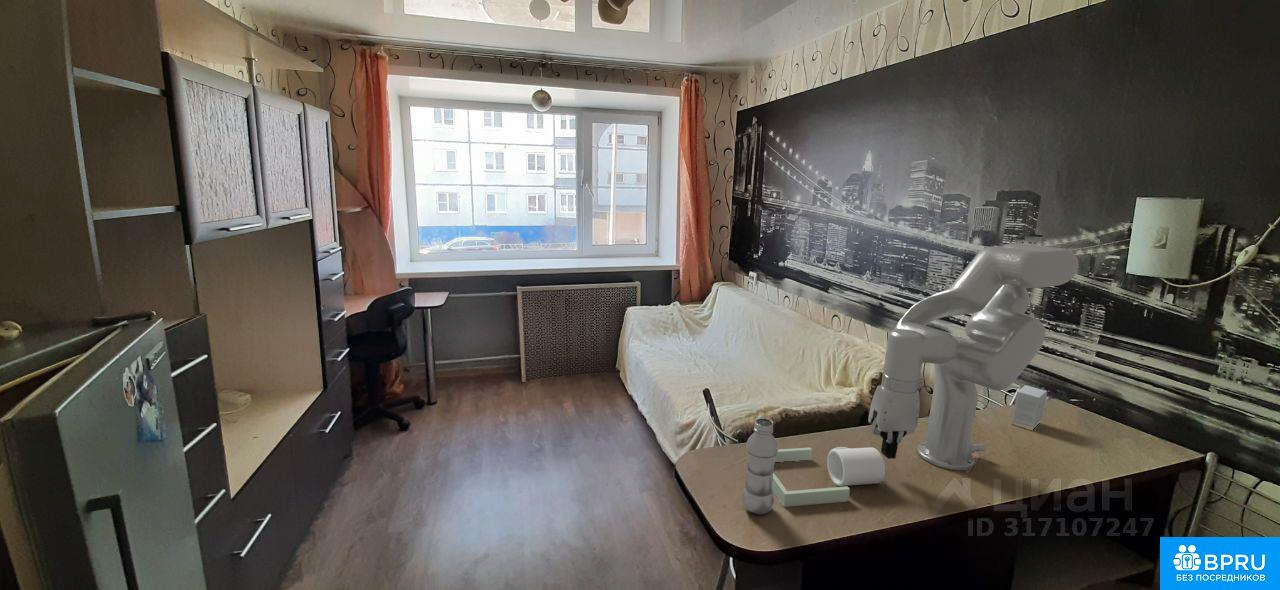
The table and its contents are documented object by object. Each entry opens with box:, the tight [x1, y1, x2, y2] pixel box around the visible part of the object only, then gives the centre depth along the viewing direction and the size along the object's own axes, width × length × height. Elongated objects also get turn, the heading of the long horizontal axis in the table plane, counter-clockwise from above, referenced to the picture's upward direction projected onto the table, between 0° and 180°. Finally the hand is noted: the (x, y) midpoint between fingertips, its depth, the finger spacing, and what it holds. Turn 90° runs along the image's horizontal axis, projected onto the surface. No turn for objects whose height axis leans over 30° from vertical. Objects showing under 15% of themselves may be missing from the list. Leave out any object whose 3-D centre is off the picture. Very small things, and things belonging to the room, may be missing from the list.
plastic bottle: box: [742, 417, 779, 515], centre depth 109 cm, size 6×7×20 cm
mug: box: [826, 446, 886, 487], centre depth 123 cm, size 12×10×8 cm
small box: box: [1011, 384, 1048, 428], centre depth 152 cm, size 8×6×10 cm
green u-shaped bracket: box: [773, 447, 851, 508], centre depth 122 cm, size 15×18×3 cm
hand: (888, 455), depth 124 cm, fingers closed
